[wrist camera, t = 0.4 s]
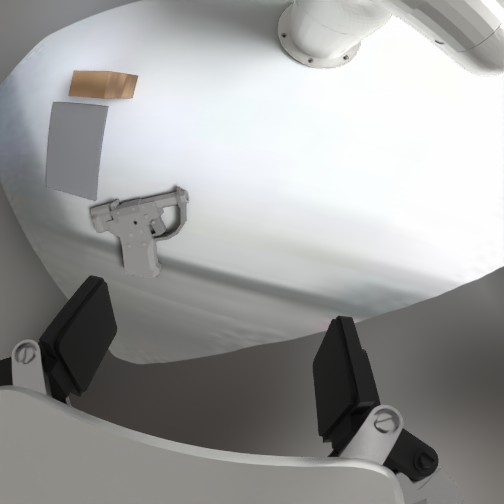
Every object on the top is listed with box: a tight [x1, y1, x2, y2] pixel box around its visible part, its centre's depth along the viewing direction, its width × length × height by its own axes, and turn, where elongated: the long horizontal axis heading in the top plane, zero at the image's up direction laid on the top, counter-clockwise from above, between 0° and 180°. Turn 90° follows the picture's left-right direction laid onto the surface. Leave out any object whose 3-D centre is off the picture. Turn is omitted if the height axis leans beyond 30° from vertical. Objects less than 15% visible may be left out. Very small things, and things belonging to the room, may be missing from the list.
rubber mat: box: [46, 102, 109, 201], centre depth 40 cm, size 18×14×1 cm
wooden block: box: [69, 71, 138, 99], centre depth 31 cm, size 4×7×9 cm, turn 73°
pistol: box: [90, 187, 189, 278], centre depth 48 cm, size 20×3×16 cm
